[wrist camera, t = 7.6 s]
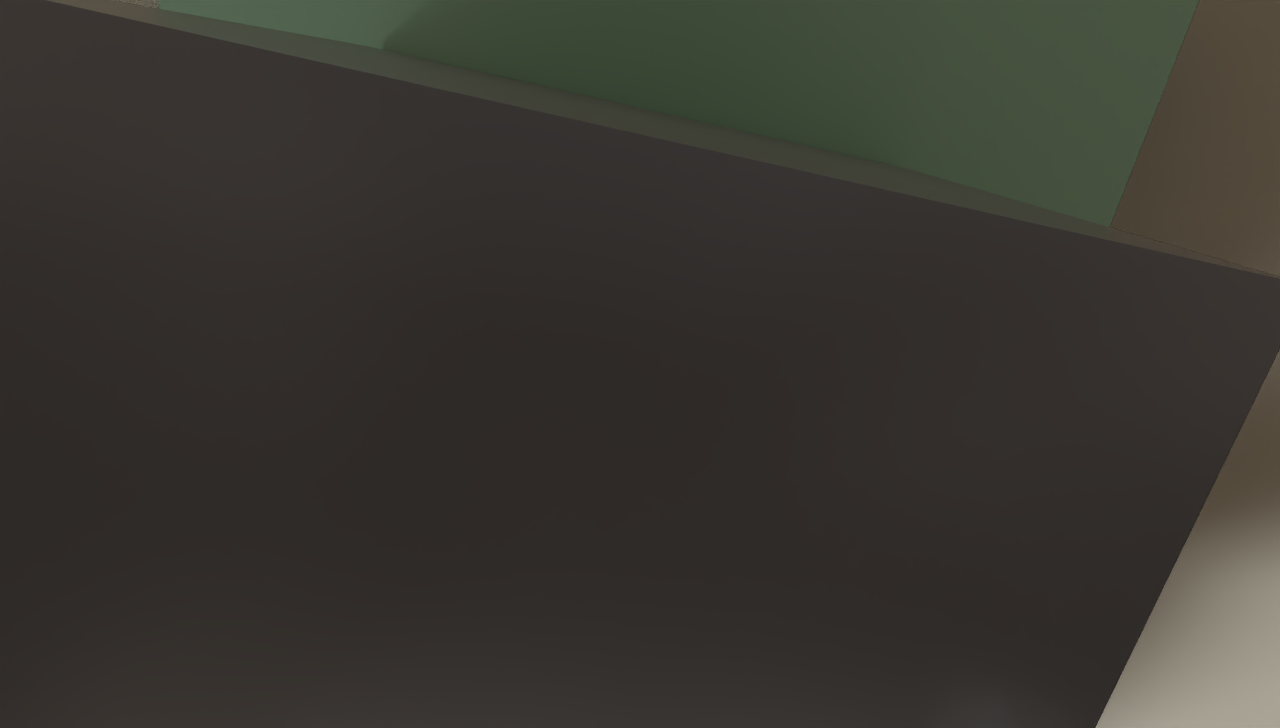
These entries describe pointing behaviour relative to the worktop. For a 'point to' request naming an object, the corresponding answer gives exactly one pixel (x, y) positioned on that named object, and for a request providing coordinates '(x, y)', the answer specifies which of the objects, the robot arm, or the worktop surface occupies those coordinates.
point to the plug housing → (560, 406)
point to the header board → (822, 72)
